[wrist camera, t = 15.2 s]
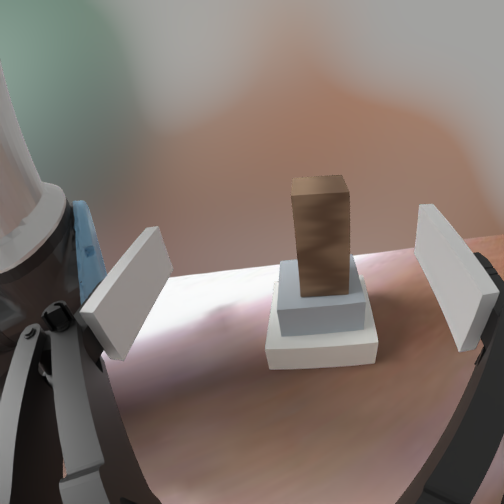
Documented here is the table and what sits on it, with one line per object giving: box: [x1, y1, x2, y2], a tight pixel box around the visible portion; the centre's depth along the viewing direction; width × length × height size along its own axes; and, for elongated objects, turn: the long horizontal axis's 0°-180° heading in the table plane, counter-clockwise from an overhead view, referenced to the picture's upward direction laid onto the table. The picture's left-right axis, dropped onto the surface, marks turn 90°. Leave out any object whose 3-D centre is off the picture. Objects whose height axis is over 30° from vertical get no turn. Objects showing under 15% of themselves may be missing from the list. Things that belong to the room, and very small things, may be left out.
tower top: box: [277, 254, 366, 337], centre depth 34 cm, size 9×9×4 cm
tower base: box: [265, 275, 378, 370], centre depth 35 cm, size 12×12×4 cm
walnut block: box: [291, 175, 350, 297], centre depth 30 cm, size 5×5×11 cm
